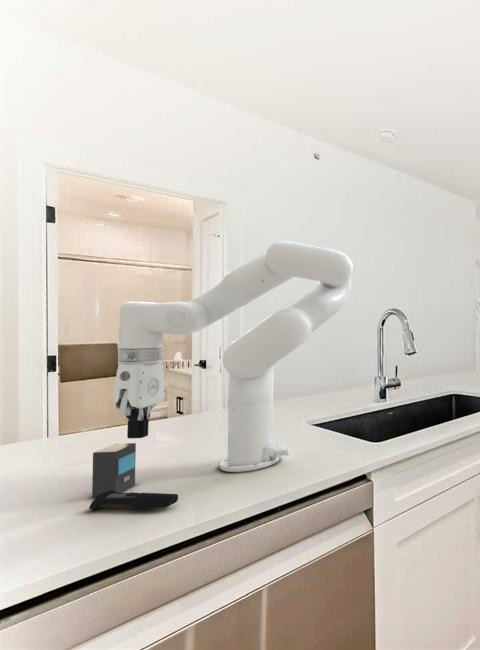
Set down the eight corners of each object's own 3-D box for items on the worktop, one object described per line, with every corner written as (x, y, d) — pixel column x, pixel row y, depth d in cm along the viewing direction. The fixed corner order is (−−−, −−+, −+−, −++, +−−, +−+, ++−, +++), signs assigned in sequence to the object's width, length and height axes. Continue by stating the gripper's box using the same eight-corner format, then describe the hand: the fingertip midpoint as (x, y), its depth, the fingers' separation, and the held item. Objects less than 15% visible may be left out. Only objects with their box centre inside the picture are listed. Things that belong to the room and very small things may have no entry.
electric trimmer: (166, 515, 78) (167, 497, 78) (86, 512, 79) (87, 494, 79) (183, 506, 82) (183, 489, 82) (106, 503, 83) (107, 486, 83)
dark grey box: (136, 484, 92) (137, 442, 92) (116, 496, 86) (117, 451, 86) (113, 486, 91) (114, 444, 91) (91, 497, 85) (92, 452, 86)
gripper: (137, 359, 90) (133, 446, 90) (178, 353, 105) (176, 428, 104) (95, 359, 89) (92, 447, 88) (143, 353, 103) (141, 429, 103)
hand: (137, 437), depth 96 cm, fingers closed
